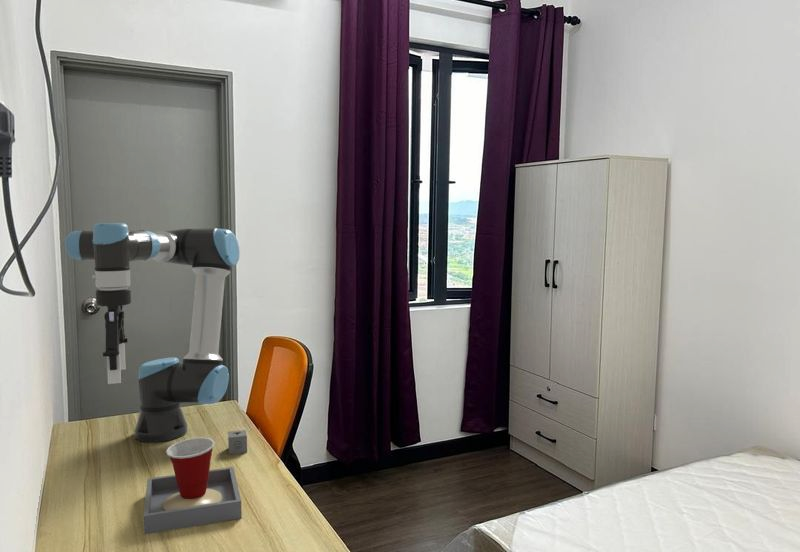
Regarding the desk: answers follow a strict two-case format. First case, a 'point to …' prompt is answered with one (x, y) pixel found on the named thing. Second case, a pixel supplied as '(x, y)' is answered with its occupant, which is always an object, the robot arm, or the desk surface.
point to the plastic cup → (191, 465)
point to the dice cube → (237, 442)
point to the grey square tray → (191, 502)
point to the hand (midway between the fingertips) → (117, 376)
